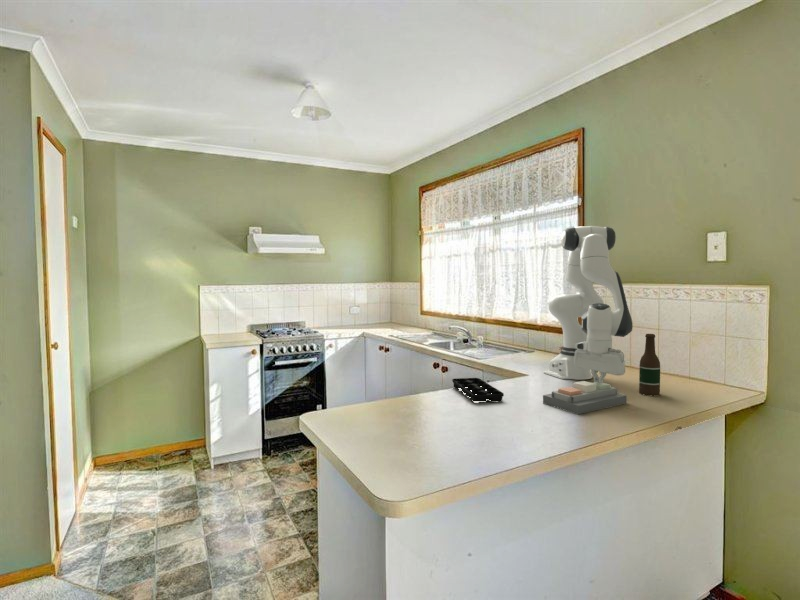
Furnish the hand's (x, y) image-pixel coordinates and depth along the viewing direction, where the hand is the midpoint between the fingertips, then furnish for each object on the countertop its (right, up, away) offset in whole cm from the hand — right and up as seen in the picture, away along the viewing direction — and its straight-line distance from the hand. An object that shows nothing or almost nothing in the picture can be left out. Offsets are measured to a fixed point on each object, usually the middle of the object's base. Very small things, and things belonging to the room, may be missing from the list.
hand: (598, 382), depth 172 cm
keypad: (-7, -7, -4) cm, 11 cm away
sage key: (0, -4, 0) cm, 4 cm away
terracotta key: (-14, -4, -8) cm, 16 cm away
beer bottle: (+24, -6, +8) cm, 26 cm away
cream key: (-7, -3, -4) cm, 8 cm away
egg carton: (-45, -7, +12) cm, 47 cm away
